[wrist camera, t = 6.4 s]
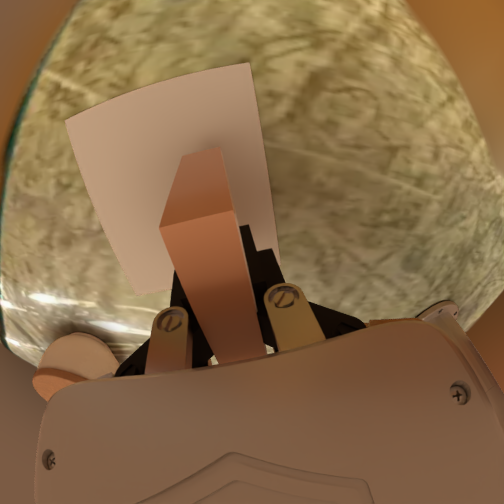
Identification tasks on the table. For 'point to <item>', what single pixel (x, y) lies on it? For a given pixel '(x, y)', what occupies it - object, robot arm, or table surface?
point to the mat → (171, 162)
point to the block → (212, 256)
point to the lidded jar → (72, 363)
